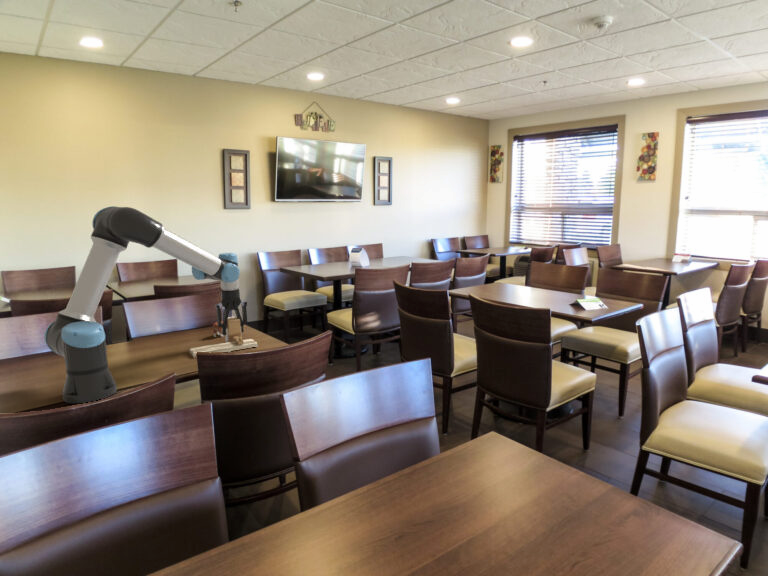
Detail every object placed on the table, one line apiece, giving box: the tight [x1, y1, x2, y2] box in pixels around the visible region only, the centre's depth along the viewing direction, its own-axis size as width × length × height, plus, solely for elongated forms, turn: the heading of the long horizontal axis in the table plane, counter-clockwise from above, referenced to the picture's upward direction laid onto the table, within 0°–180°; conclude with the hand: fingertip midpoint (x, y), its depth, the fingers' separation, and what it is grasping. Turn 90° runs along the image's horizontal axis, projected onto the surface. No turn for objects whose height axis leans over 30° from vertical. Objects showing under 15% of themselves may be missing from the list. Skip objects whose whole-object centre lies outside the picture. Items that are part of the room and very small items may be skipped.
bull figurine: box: [212, 315, 235, 338], centre depth 231 cm, size 4×13×8 cm, turn 148°
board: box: [189, 338, 259, 359], centre depth 208 cm, size 8×26×2 cm, turn 123°
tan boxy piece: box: [225, 316, 244, 345], centre depth 214 cm, size 14×5×11 cm, turn 33°
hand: (233, 340), depth 218 cm, fingers closed on tan boxy piece, 5 cm apart
